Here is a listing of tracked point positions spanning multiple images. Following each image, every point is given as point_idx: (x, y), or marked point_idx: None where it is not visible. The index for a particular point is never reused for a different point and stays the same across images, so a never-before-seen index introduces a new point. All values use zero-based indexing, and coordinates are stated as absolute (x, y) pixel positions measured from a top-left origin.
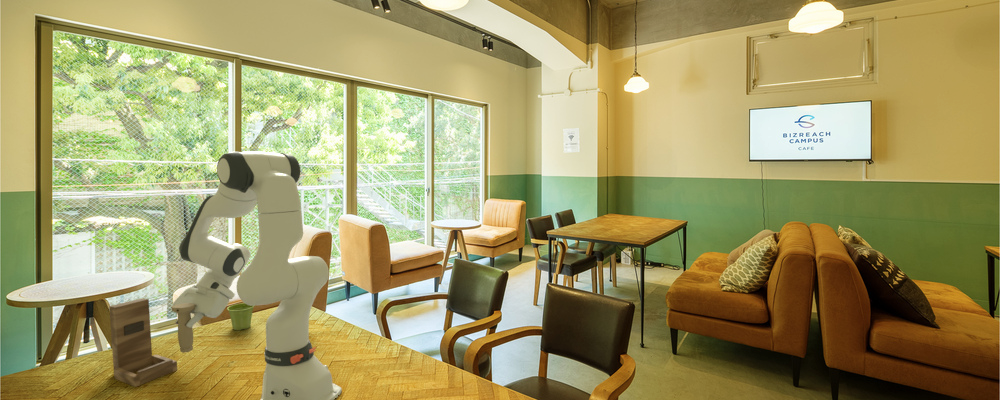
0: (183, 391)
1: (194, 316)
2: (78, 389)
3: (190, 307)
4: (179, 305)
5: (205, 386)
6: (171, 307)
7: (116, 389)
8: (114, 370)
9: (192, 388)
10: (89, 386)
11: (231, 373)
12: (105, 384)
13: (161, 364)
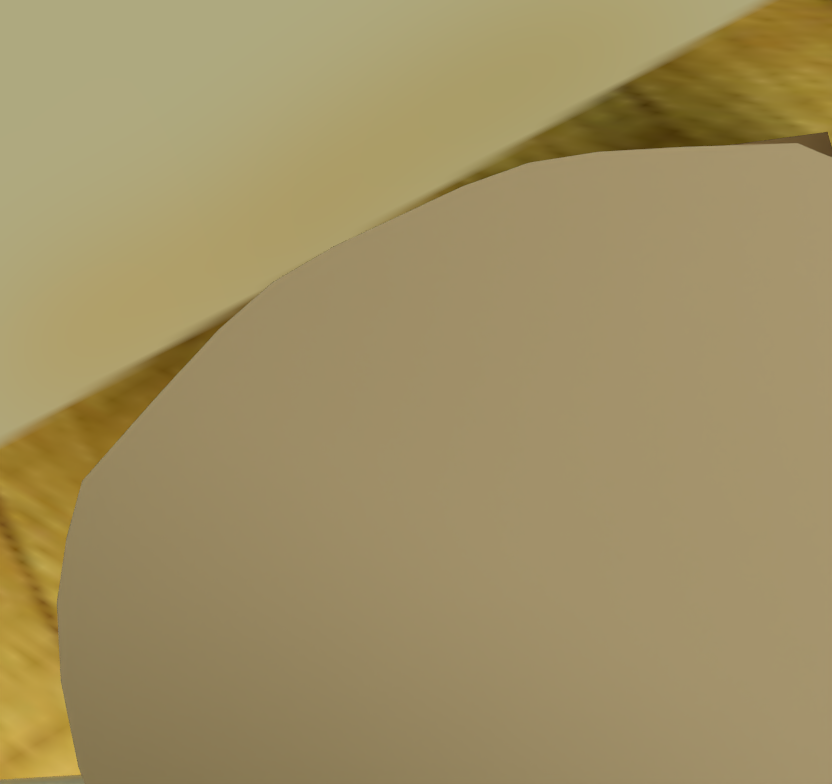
0: (132, 367)
1: None
2: (797, 9)
3: (78, 601)
4: (776, 441)
5: (58, 484)
6: (790, 155)
7: (572, 140)
8: (814, 138)
9: (115, 420)
10: (791, 56)
11: (62, 719)
12: (733, 121)
13: None
